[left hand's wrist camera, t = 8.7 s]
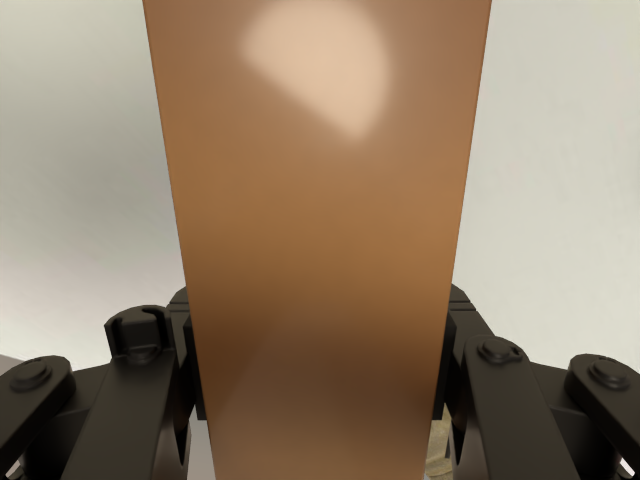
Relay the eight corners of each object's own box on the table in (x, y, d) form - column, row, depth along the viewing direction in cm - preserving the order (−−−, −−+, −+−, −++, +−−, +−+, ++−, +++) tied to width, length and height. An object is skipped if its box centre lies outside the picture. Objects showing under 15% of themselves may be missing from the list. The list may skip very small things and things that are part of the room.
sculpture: (372, 328, 39) (402, 460, 26) (434, 296, 38) (502, 417, 24) (398, 366, 41) (439, 507, 27) (458, 337, 40) (534, 470, 26)
